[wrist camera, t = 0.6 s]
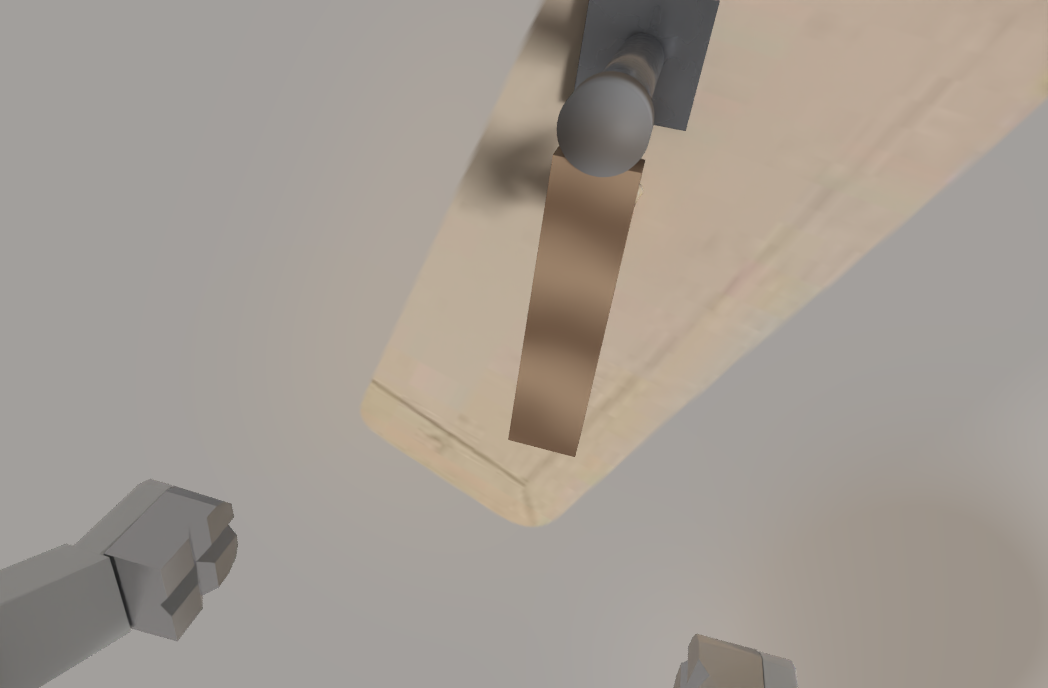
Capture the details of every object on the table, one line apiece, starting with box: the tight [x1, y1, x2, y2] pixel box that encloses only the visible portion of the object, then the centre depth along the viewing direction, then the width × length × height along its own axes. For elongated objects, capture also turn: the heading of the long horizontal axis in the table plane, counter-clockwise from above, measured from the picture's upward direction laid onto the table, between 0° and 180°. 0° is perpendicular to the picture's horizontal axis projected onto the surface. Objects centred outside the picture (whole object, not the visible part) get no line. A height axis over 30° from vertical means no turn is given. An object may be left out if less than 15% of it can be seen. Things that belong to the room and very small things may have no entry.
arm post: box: [574, 0, 720, 131], centre depth 38 cm, size 8×8×17 cm
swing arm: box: [508, 71, 654, 457], centre depth 34 cm, size 20×4×2 cm, turn 173°
